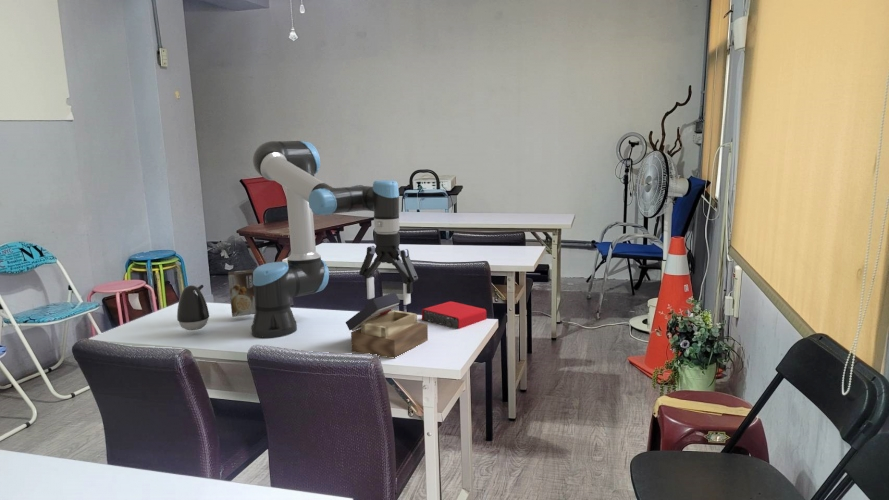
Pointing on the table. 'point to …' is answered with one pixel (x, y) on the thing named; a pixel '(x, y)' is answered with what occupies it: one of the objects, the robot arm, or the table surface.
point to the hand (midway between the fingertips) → (388, 301)
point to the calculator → (373, 310)
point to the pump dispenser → (192, 308)
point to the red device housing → (454, 314)
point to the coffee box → (241, 292)
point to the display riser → (389, 334)
